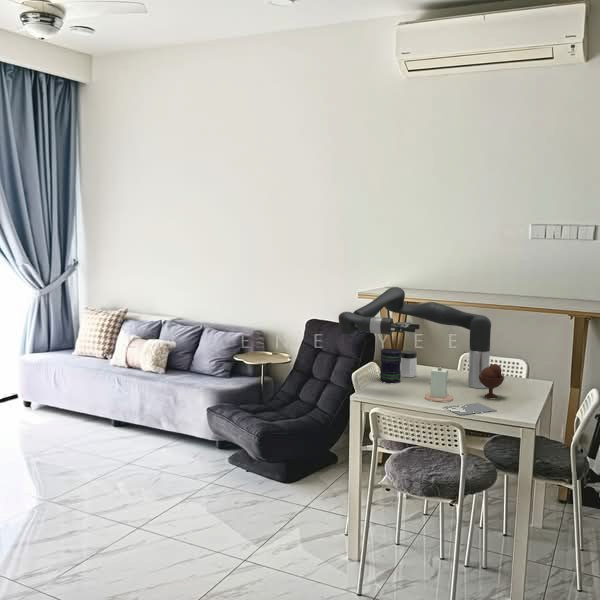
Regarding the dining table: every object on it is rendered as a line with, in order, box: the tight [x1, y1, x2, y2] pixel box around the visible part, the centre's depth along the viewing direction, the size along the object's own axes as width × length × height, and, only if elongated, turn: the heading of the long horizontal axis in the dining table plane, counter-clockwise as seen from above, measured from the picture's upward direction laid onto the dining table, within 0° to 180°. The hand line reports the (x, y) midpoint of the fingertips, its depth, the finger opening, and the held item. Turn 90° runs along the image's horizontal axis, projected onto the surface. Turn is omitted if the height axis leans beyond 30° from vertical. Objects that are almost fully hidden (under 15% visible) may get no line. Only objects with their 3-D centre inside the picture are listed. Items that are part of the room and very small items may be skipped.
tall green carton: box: [429, 366, 449, 399], centre depth 294 cm, size 6×6×13 cm
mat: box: [443, 402, 497, 417], centre depth 279 cm, size 18×12×1 cm, turn 113°
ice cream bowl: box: [479, 363, 505, 399], centre depth 298 cm, size 11×11×15 cm
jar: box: [400, 349, 418, 378], centre depth 337 cm, size 9×8×12 cm
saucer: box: [424, 392, 454, 402], centre depth 295 cm, size 12×12×1 cm
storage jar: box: [379, 348, 402, 384], centre depth 325 cm, size 10×10×15 cm
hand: (417, 328), depth 297 cm, fingers open, 8 cm apart
